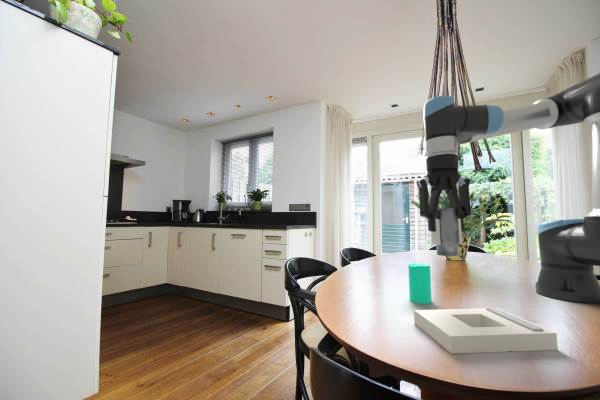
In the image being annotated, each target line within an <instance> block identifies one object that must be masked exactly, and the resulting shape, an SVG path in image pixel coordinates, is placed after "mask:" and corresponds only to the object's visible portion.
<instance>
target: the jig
mask: <svg viewBox="0 0 600 400" xmlns="http://www.w3.org/2000/svg"><path fill="white" fill-rule="evenodd" d="M413 315H414V317H413V318H414V325H416V326H417V327H418V328H420V329H421V331H422V332H424V333H426V334H427V336H430V338H431V339H433V340H434V341H435V342H437V343H438V344H439V345H440V346H442V347H443V348H444V350H446V351H447V352H448V353H450V354H476V353H479V354H480V353H508V352H509V351H512V352H533V351H534V352H537V351H539V352H541V351H557V350H558V349H559V347H558V337H557V336H558V335H557V332H555V331H553V330H550V329H548V328H546V327H544V326H541V325H538V324H536V323H533V322H531V321H529V320H528V319H524V318H521V317H520V316H517V315H515V314H512V313H511V312H510V313H509V312H508V311H506V310H503V309H501V308H497V307H482V308H481V307H480V308H450V309H448V308H446V309H445V308H444V309H442V308H441V309H414V310H413Z"/></svg>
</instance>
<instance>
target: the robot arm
mask: <svg viewBox="0 0 600 400" xmlns="http://www.w3.org/2000/svg"><path fill="white" fill-rule="evenodd" d="M422 112H423V114H422V115H423V119H422V120H423V126H424V128H423V129H424V141H425V143H424V145H425V156H426V157H427V158H426V159H425V162H426V172H427V174H426V176H425V178H420V179H418V180H416V185H417V187H418V197H419V198H418V199H419V215H420V217H422V218H425V219H426V220H427V225H428V228H427V229H428V232H431V244H432V245H441V240H440V224H439V219H435V218H436V215H437V210H438V209H439V203H440V199H441V194H442V193H443V191H444V193H445V195H447V198H448V202H449V205H450V208H456V218H457V234H458V245H463V236H462V235H463V233H462V232H463V231H464V230H465V226H464V225H465V223H464V219H466V218H467V217H470V216H471V215H472V211H471V210H472V209H471V196H470V184H471V179H470V178H469V177H467V178H465V177H461V175H460V173H459V166H460V165H459V155H457V154H458V152H459V151H458V149H459V148H458V146H459V145H464V144H467V143H473V142H476V141H482V140H486V139H490V138H496V137H499V136H505V135H511V134H515V133H519V132H524V131H526V130H527V131H528V130H533V129H537V130H546V129H552V128H557V127H563V126H569V125H575V124H581V123H583V124H586V125H587V126H590V127H591V129H590V130H591V133H590V135H591V136H590V137H591V210H590V212H588V213H587V214H585V215H584V216H583V218H570V219H567V218H566V219H557V220H547V221H542V222H541V223H540V224H539V225H538V234H537V236H538V237H537V238H538V246H539V247H538V248H539V256H540V258H539V259H540V270H539V274H538V278H537V282H535V284H534V285H535V286H534V287H535V292H536V293H537V294H539V295H541V296H544V297H547V298H548V297H549V298H553V299H557V300H563V301H570V302H578V303H588V304H589V303H590V304H591V303H592V304H593V303H594V304H595V303H596V304H597V303H600V282H599V280H598V278H597V276H596V274H595V269H594V266H595V267H600V72H599V73H597V74H595V75H593V76H591V77H589V78H587V79H584V80H581V81H579V82H578V83H576V84H574V85H572V86H569V87H568V88H566V89H564V90H561V91H560V92H558V93H556V94H553V95H550V96H548V97H545V98H541V99H538V100H536V101H535V102H534V103H532V104H528V105H523V106H519V107H514V108H510V109H504V110H503V108H501V107H500V106H499V105H493V104H492V105H491V104H490V105H489V104H482V105H476V104H475V105H459V104H457V105H456V102H455V97H453V96H450V95H439V96H438V95H437V96H434V97H432V98H429V99H428V100H427V101H426V102H425V103H424V104H423V111H422ZM428 185H429V186H431V188H430V198H429V187H428ZM457 185H458V187H457Z"/></svg>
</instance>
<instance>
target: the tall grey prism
mask: <svg viewBox="0 0 600 400" xmlns="http://www.w3.org/2000/svg"><path fill="white" fill-rule="evenodd" d="M435 219H439V224H440V240H441V245H436V244H435V245H436V255H437V256H442V257H443V256H444V257H457V256H459V255H460V252H459V244H458V234H457V218H456V208H451V207H447V208H446V207H443V208H442V207H441V208H440V207H438V210H437V215H436V218H435Z"/></svg>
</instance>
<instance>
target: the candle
mask: <svg viewBox="0 0 600 400" xmlns="http://www.w3.org/2000/svg"><path fill="white" fill-rule="evenodd" d="M408 284H409V285H408V287H409V289H408V290H409V301H411V302H412V303H416V304H421V303H422V304H431V302H432V301H433V300H432V279H431V265H430V264H425V263H414V262H411V263H409V264H408Z"/></svg>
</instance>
